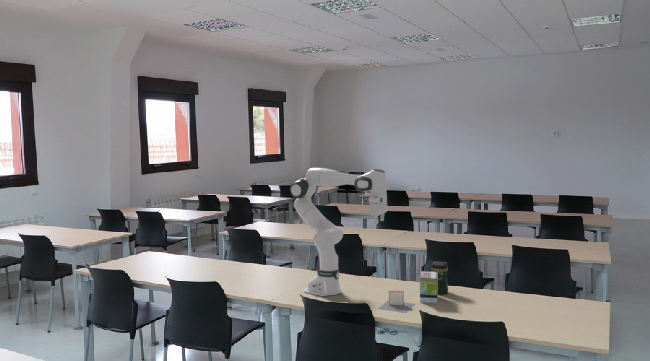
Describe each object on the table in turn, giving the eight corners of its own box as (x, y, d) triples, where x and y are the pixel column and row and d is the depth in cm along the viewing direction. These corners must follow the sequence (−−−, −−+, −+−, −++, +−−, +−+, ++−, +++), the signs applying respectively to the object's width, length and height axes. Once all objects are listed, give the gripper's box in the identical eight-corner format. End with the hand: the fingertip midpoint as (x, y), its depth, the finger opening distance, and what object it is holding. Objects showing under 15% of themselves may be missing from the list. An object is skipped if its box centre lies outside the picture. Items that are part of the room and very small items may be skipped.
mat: (377, 309, 279) (377, 308, 279) (388, 301, 293) (388, 300, 293) (406, 314, 272) (406, 312, 271) (415, 305, 286) (415, 303, 286)
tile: (388, 304, 286) (388, 290, 285) (403, 304, 285) (403, 290, 284) (388, 305, 284) (388, 291, 283) (403, 305, 283) (403, 291, 282)
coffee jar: (449, 291, 309) (449, 260, 308) (446, 295, 302) (446, 263, 300) (433, 289, 313) (433, 259, 312) (429, 293, 306) (429, 262, 305)
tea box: (438, 304, 286) (438, 278, 285) (419, 303, 288) (419, 277, 287) (437, 296, 301) (437, 271, 300) (420, 295, 303) (420, 270, 302)
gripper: (379, 195, 303) (379, 219, 304) (367, 199, 284) (368, 224, 285) (389, 196, 300) (390, 219, 301) (378, 200, 282) (379, 225, 283)
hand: (379, 222), depth 293 cm, fingers open, 8 cm apart
